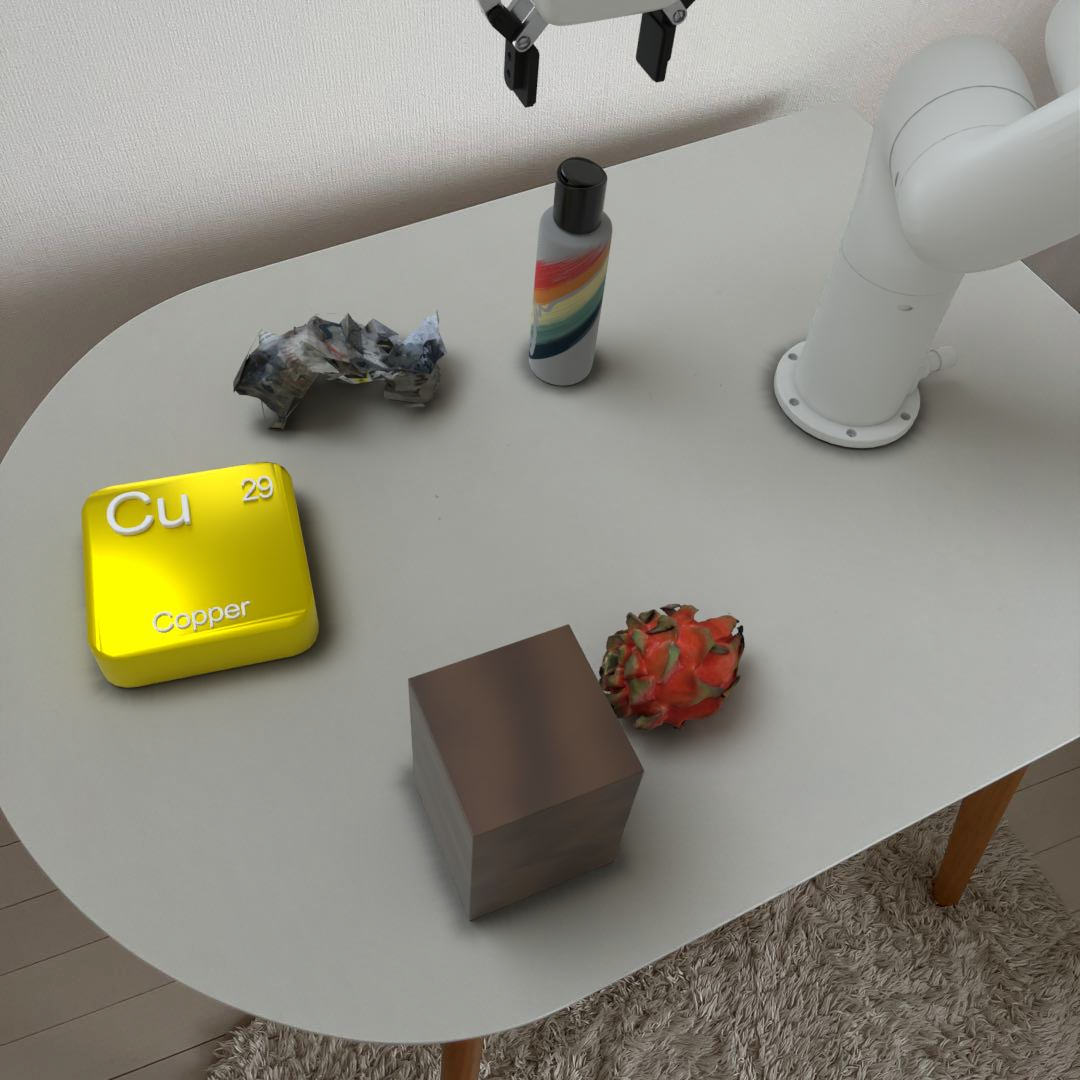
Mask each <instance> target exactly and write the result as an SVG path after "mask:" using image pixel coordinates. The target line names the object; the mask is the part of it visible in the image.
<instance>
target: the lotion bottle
mask: <svg viewBox="0 0 1080 1080" xmlns="http://www.w3.org/2000/svg"><path fill="white" fill-rule="evenodd" d="M607 185H608V174H607V172H606V171H605V169H604V168H602V166H601V165H599V164H598V163H596V162H595V161H593V160H591V159H589V158H586V157H581V156H571V157H568V158H566V159H564V160H563V161H562V162H561V163H560V164H559V165H558V167H557V169H556V173H555V181H554V194H553V205H551V206H549V207H548V208H547V209H546V210H545V211H544V212H543V213H542V215H541V217H540V221H539V223H538V224H539V225H538V235H537V236H538V237H537V246H536V260H535V269H534V281H533V294H532V306H531V307H532V308H531V318H530V319H531V320H530V331H529V341H528V343H529V344H528V364H529V367H530V370H531V371H532V373H533V374H534V375H535V376H536V377H537V378H538V379H540V380H541V381H543V382H545V383H547V384H551V385H554V386H572V385H575V384H577V383H580V382H582V381H583V380H585V379H586V378H587V377H588V376H589V374H590V373H591V370H592V369H593V364H594V359H595V354H596V347H597V341H598V334H599V326H600V321H601V315H602V307H603V299H604V294H605V293H604V292H605V287H606V280H607V273H608V267H609V266H608V265H609V259H610V253H611V247H612V246H611V245H612V238H613V223H612V220H611V218H610V216H609V215H608V214H607V213H606V212H605V211H604V206H605V200H606V192H607Z"/></svg>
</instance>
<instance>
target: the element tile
mask: <svg viewBox="0 0 1080 1080" xmlns="http://www.w3.org/2000/svg"><path fill="white" fill-rule="evenodd" d="M292 478H293V477H292V476H291V474H290V472H289V471H288V470H287V469H286V468H285V466H283V465H281V464H279V463H277V462H270V461H257V462H251V463H244V464H239V465H231V466H227V467H226V466H225V467H220V468H215V469H214V468H213V469H208V470H201V471H194V472H189V473H182V474H177V475H170V476H164V477H157V478H151V479H145V480H139V481H133V482H132V481H131V482H127V483H126V482H125V483H119V484H114V485H109V486H106V487H102V488H100V489H98V490H96V491H94V492H93V493H91V494H90V495H89V496H88V497H87V498H86V499H85V501H84V502H83V505H82V508H81V511H80V514H81V515H80V517H81V535H82V536H81V538H82V557H83V558H82V559H83V576H84V597H85V619H86V638H87V639H86V640H87V643H88V644H87V645H88V648H89V649H90V651H91V654H92V655H93V657H94V659H95V661H96V662H97V665H98V667H99V669H100V671H101V672H102V674H103V676H104V677H105V679H106V681H107V682H109V683H111V684H112V685H114V686H115V687H120V688H126V689H127V688H139V687H145V686H148V685H149V686H150V685H154V684H160V683H165V682H170V681H174V680H179V679H185V678H190V677H195V676H200V675H205V674H209V673H215V672H219V671H225V670H230V669H235V668H240V667H245V666H250V665H256V664H260V663H265V662H266V663H267V662H270V661H274V660H281V659H286V658H290V657H291V658H292V657H294V656H298V655H300V654H302V653H304V652H305V651H308V650H310V648H311V647H312V646H313V645H314V643H315V642H316V641H317V638H318V634H319V632H320V631H319V627H320V623H319V618H318V611H317V607H316V600H315V596H314V590H313V585H312V580H311V579H312V578H311V574H310V573H311V572H310V568H309V563H308V558H307V553H306V547H305V542H304V541H305V540H304V537H303V531H302V527H301V526H302V525H301V521H300V520H301V519H300V515H299V509H298V505H297V499H296V495H295V489H294V483H293V479H292Z"/></svg>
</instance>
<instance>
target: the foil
mask: <svg viewBox="0 0 1080 1080" xmlns="http://www.w3.org/2000/svg"><path fill="white" fill-rule="evenodd" d="M346 313H347V314H345V316H344V317H343V319H342V320H341V321H340V322H339V323H337V322H333V321H329V320H327V319H323V318H321V317H319V316H317V315H319V313H315V314H313V316H311V317H310V318H309V319H308V320H307V323H304V324H303V325H299V326H297V327H296V326H293V329H290V330H288V331H286V332H285V333H282V334H280V335H279V334H277V333H272V332H270V331H263V329H260V331H259V332H258V334H257V336H256V337H255V339H254V340H253V343H252V344H251V346H250V348H249V350H248V351H247V353H246V356H245V357H244V359H243V361H242V363H241V365H240V366H239V368H238V371H237V373H236V375H235V377H234V379H233V381H232V387H233V390H232V391H233V393H235V392H236V394H238V396H248V397H251V398H256V399H258V400H260V404H261V408H262V409H261V410H262V414H263V419H264V420H266V418H265V417H266V415H265V411H264V405H265V406H266V407H267V408H268V409H269V410H270V411H272V412H273V413H275V414H276V415H277V417H278V418H279V419H278V420H277V421H275V422H274V423H273V424H271V425H269V427H266V429H267V430H268V429H274V428H276V429H282V430H284V429H285V426H286V423H287V421H288V418H289V416H290V415H291V414H292V412H293V411H294V410H295V409H296V407H297V406H298V404H299V403H300V402H302V399H303V398H304V396H305V395H306V394H307V392H308V391H309V389H310V388H311V386H312V385H313V384H314V382H315V381H316V379H317V378H318V376H319V375H320V373H321V374H323V375H326V376H329V377H328V378H326V380H328V381H333V380H336V379H338V380H340V381H338V382H340V383H341V381H342V382H344V383H345V384H350V385H351V384H352V385H356V384H362V383H369V382H376V381H383V382H384V383H386V384H385V387H384V391H383V399H388V400H395V401H401V402H402V401H403V402H410V403H417V404H426V403H429V402H431V401H432V400H433V399H434V398H435V395H436V391H437V389H438V385H439V383H440V380H441V376H442V374H441V368H440V366H439V362H438V361H439V360H440V359H442V358H443V357H444V356H445V355H447V354H448V351H447V348H446V346H445V343H444V341H443V338H442V335H441V333H440V327H439V326H440V325H439V324H440V316H439V311H438V309H436V311H435V314H433V315H429V316H427V317H426V318H423V319H422V323H421V324H420V325H419V326H418V327H417V328H415V329H413V330H412V332H411V334H409V335H408V336H407V337H406V338H405V339H403V340H401V339H398V338H399V336H400V334H399V333H398V332H396V331H394V330H393V329H392V328H389V327H388V326H386V324H384V323H382V322H380V321H378V320H377V319H376V318H372V319H371V320H370V321H368V322H367V324H365V325H364V324H362V323H360V322H359V321H357V320H355V319H353V318H352V316H351V315H350V313H349V312H346ZM332 314H335V313H334V312H332V313H331V312H329V313H328V315H332ZM261 331H263V332H261ZM257 338H258V346H257V347H256V348H255V349H254V350H253V351H252V352H251V350H252V348H253V346H254V344H255V342H256V340H257ZM381 346H387V347H389V348H391V350H390V351H389V353H388V352H387V351H386V350H384V349H383V348H382V347H381ZM250 352H251V353H250ZM352 375H354V376H358V377H362V378H354V377H353V378H351V377H349V378H348V377H347V376H352ZM295 398H298V399H300V400H299V402H297V404H295V406H294V407H293V408H292V409H291V410H290V411H289V409H290V407H291V405H292V403H293V401H294V399H295ZM264 423H265V425H266V424H267V423H266V422H264Z"/></svg>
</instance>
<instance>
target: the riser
mask: <svg viewBox="0 0 1080 1080" xmlns="http://www.w3.org/2000/svg"><path fill="white" fill-rule="evenodd" d="M407 684H408V685H407V686H408V701H409V715H410V718H409V719H410V734H411V735H410V736H411V750H412V751H411V752H412V767H413V782H414V785H415V786H416V790H417V792H418V795H419V797H420V801H421V802H422V804H423V808H424V810H425V812H426V816H427V817H428V820H429V823H430V825H431V827H432V830H433V834H434V835H435V838H436V841H437V843H438V846H439V848H440V851H441V853H442V856H443V859H444V862H445V864H446V866H447V869H448V871H449V874H450V876H451V879H452V882H453V885H454V887H455V889H456V892H457V895H458V897H459V899H460V902H461V905H462V908H463V909H464V910H463V911H464V912H465V915H466V918H467V920H468V921H469V922H471V921H473V920H475V919H477V918H480V917H483V916H485V915H488V914H490V913H492V912H495V911H497V910H500V909H502V908H504V907H507V906H510V905H512V904H514V903H517V902H519V901H521V900H524V899H526V898H530V897H531V896H533V895H536V894H538V893H541V892H544V891H546V890H548V889H551V888H554V887H555V886H558V885H560V884H563V883H565V882H567V881H570V880H572V879H575V878H577V877H580V876H582V875H584V874H587V873H589V872H592V871H595V870H596V869H599V868H602V867H605V866H607V865H609V864H611V863H614V861H615V859H616V855H617V853H618V849H619V847H620V844H621V841H622V838H623V835H624V832H625V829H626V826H627V823H628V820H629V818H630V815H631V813H632V808H633V805H634V802H635V800H636V797H637V794H638V791H639V788H640V784H641V783H642V779H643V777H644V773H645V769H644V767H643V765H642V763H641V761H640V759H639V756H638V755H637V753H636V751H635V749H634V747H633V745H632V743H631V741H630V739H629V738H628V736H627V733H626V731H625V730H624V728H623V726H622V723H621V722H620V720H619V718H617V716H616V714H615V712H614V710H613V709H612V707H611V705H610V703H609V701H608V699H607V697H606V695H605V693H606V692H605V691H604V690H603V689H602V687H601V685H600V683H599V679H598V678H597V676H596V674H595V672H594V670H593V668H592V666H591V664H590V661H588V658H587V656H586V654H585V652H584V650H583V649H582V647H581V645H580V643H579V641H578V639H577V637H576V635H575V633H574V631H573V629H572V627H571V625H570V624H568V623H567V624H565V625H562V626H558V627H555V628H554V629H550V630H547V631H544V632H541V633H539V634H535V635H533V636H530V637H526V638H523V639H521V640H517V641H515V642H512V643H509V644H506V645H503V646H500V647H497V648H494V649H491V650H488V651H485V652H483V653H479V654H476V655H474V656H470V657H468V658H465V659H461V660H459V661H456V662H453V663H449V664H447V665H444V666H440V667H438V668H436V669H432V670H429V671H427V672H423V673H421V674H418V675H415V676H412V677H409V678H408V679H407ZM604 692H605V693H604Z"/></svg>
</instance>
